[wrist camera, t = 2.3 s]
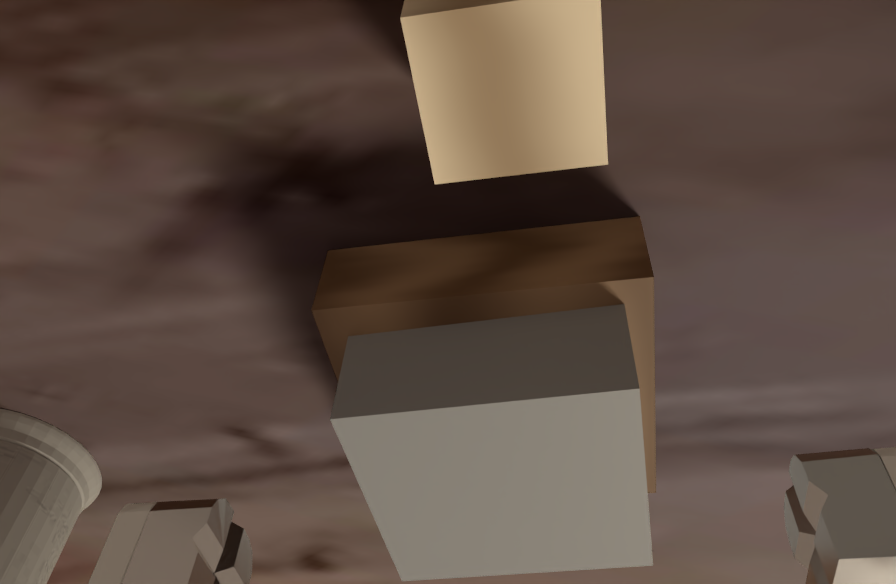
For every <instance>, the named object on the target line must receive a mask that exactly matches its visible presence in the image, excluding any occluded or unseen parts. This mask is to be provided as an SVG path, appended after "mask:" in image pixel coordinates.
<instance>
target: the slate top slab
mask: <svg viewBox="0 0 896 584" xmlns="http://www.w3.org/2000/svg"><path fill="white" fill-rule="evenodd" d="M330 420H331V422H332V425H333V427H334V429H335V431H336V434H337V436H338V438H339V440H340V443H341V445H342V447H343V449H344V452H345V454H346V456H347V458H348V461H349V463H350V465H351V467H352V470H353V472H354V474H355V476H356V479H357V481H358V483H359V485H360V488H361V490H362V492H363V494H364V497H365V499H366V501H367V503H368V506H369V508H370V510H371V512H372V515H373V517H374V519H375V521H376V524H377V526H378V528H379V530H380V533H381V535H382V537H383V539H384V542H385V544H386V546H387V548H388V551H389V553H390V555H391V557H392V560H393V562H394V564H395V566H396V569H397V571H398V573H399V575H400V578H401V580H402V581H413V580H429V579H445V578H461V577H477V576H493V575H509V574H525V573H541V572H557V571H573V570H589V569H605V568H621V567H637V566H653V558H652V545H651V531H650V518H649V505H648V492H647V479H646V466H645V453H644V440H643V427H642V414H641V401H640V388H639V383H638V377H637V371H636V366H635V360H634V355H633V349H632V344H631V338H630V332H629V327H628V321H627V316H626V310H625V304H620V305H611V306H603V307H594V308H586V309H577V310H569V311H560V312H552V313H543V314H535V315H526V316H518V317H509V318H501V319H492V320H484V321H475V322H467V323H458V324H450V325H441V326H433V327H424V328H416V329H407V330H398V331H390V332H381V333H373V334H364V335H356V336H348V339H347V344H346V348H345V353H344V358H343V362H342V367H341V371H340V376H339V381H338V385H337V390H336V395H335V399H334V404H333V408H332V413H331V418H330Z"/></svg>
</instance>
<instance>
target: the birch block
mask: <svg viewBox="0 0 896 584" xmlns="http://www.w3.org/2000/svg"><path fill="white" fill-rule="evenodd" d="M400 19H401V24H402V29H403V34H404V39H405V43H406V48H407V53H408V58H409V63H410V68H411V72H412V77H413V82H414V87H415V92H416V97H417V101H418V106H419V111H420V116H421V121H422V126H423V130H424V135H425V140H426V145H427V150H428V155H429V159H430V164H431V169H432V174H433V179H434V184H444V183H452V182H461V181H469V180H478V179H487V178H495V177H504V176H513V175H521V174H530V173H539V172H547V171H556V170H564V169H573V168H582V167H590V166H599V165H608V155H607V133H606V111H605V88H604V66H603V43H602V21H601V0H405V1H404V5H403V9H402V13H401V17H400Z"/></svg>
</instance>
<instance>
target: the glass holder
mask: <svg viewBox="0 0 896 584" xmlns="http://www.w3.org/2000/svg"><path fill="white" fill-rule="evenodd" d="M101 486H102V477H101V473H100V470H99V468H98V466H97V464H96V462H95V460H94V459H93V457H92V456H91V455H90V454H89V452H88V451H87V450H86V449H85V448H84V447H83V446H82V445H81V444H80V443H79V442H77V441H76V440H74V439H73V438H72V437H70V436H69V435H68V434H66V433H65V432H63V431H61V430H59V429H58V428H56V427H54V426H53V425H50V424H48V423H46V422H44V421H41V420H39V419H37V418H34V417H31V416H28V415H25V414H22V413H18V412H14V411H10V410H6V409H0V584H46V583H47V581H48V579H49V577H50V575H51V573H52V571H53V569H54V567H55V564H56V562H57V560H58V558H59V556H60V554H61V552H62V550H63V548H64V545H65V543H66V541H67V539H68V537H69V535H70V533H71V531H72V529H73V526H74V524H75V522H76V520H77V518H78V516H79V515H80V513H81V512H82V511H83V510H84V509H85V508H87V507H88V506H89V505H90V504H91V503H92V502H93V501H94V500H95V499H96V498H97V496H98V495H99V492H100V490H101Z"/></svg>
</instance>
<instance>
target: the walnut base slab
mask: <svg viewBox="0 0 896 584" xmlns="http://www.w3.org/2000/svg"><path fill="white" fill-rule="evenodd" d="M620 304H625V310H626V316H627V321H628V327H629V332H630V338H631V344H632V349H633V355H634V360H635V366H636V371H637V377H638V383H639V388H640V401H641V414H642V427H643V440H644V453H645V466H646V479H647V492H648V493H656V446H655V344H654V276H653V271H652V267H651V263H650V258H649V254H648V250H647V245H646V241H645V237H644V232H643V228H642V224H641V219H640V216H639V217H629V218H620V219H611V220H602V221H593V222H584V223H575V224H565V225H556V226H547V227H538V228H529V229H520V230H511V231H501V232H492V233H483V234H474V235H465V236H456V237H447V238H437V239H428V240H419V241H410V242H401V243H392V244H383V245H373V246H364V247H355V248H346V249H337V250H328V252H327V256H326V260H325V263H324V267H323V270H322V274H321V278H320V281H319V285H318V288H317V292H316V296H315V299H314V303H313V306H312V310H311V311H312V313H313V316H314V319H315V321H316V324H317V327H318V330H319V332H320V335H321V338H322V340H323V343H324V346H325V348H326V351H327V354H328V357H329V359H330V362H331V365H332V367H333V370H334V373H335V376H336V378H337V381H339V376H340V371H341V367H342V362H343V358H344V353H345V348H346V344H347V339H348V336H356V335H364V334H373V333H381V332H390V331H398V330H407V329H416V328H424V327H433V326H441V325H450V324H458V323H467V322H475V321H484V320H492V319H501V318H509V317H518V316H526V315H535V314H543V313H552V312H560V311H569V310H577V309H586V308H594V307H603V306H611V305H620Z"/></svg>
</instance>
